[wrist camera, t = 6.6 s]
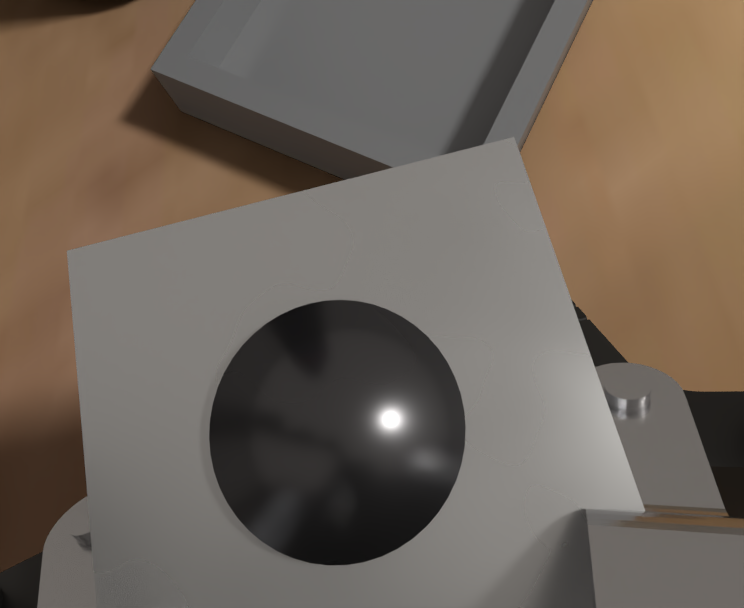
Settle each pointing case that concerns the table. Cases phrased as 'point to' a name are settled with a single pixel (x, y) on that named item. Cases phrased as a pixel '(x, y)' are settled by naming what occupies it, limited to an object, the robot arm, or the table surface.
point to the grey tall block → (344, 401)
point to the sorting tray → (369, 74)
